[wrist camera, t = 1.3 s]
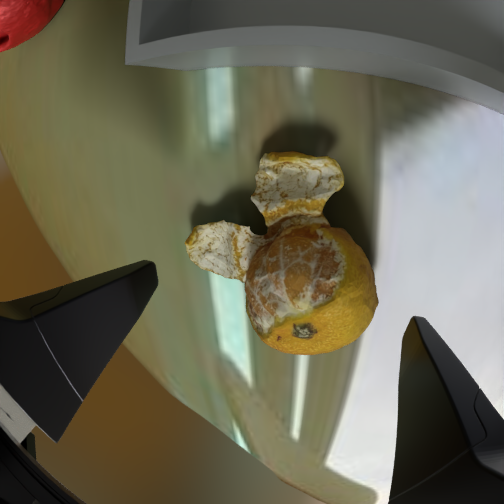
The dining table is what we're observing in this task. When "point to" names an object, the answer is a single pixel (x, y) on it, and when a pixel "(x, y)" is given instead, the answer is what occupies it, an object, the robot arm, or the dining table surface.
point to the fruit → (294, 259)
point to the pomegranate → (24, 19)
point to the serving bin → (331, 39)
